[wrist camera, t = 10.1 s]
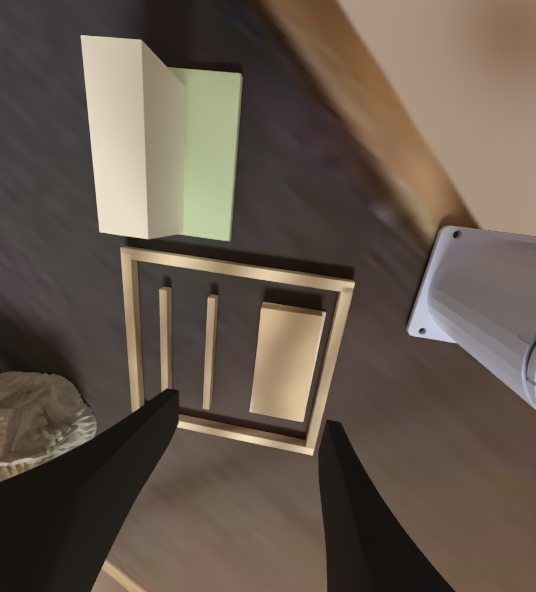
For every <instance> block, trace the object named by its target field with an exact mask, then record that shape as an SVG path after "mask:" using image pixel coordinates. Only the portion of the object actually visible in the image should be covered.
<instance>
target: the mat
mask: <svg viewBox="0 0 536 592" xmlns="http://www.w3.org/2000/svg"><path fill="white" fill-rule="evenodd" d="M167 68H168V69H169V70H170V71H171V72H172V73H173V74H174V75H175V76H176V77H177V78H178V79H179V80H180V82H181V83H182V84H183V85H184V86H185V111H184V205H183V233H181V235H188V236H195V237H202V238H209V239H216V240H223V241H231V234H232V220H233V206H234V192H235V179H236V165H237V151H238V137H239V123H240V110H241V96H242V82H243V77H242V75H241V73H229V72H218V71H206V70H194V69H182V68H171V67H167Z"/></svg>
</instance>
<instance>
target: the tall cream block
mask: <svg viewBox="0 0 536 592" xmlns="http://www.w3.org/2000/svg"><path fill="white" fill-rule="evenodd" d="M81 43H82V54H83V64H84V75H85V85H86V95H87V106H88V116H89V127H90V137H91V147H92V158H93V168H94V179H95V189H96V199H97V210H98V220H99V231H100V232H102V233H109V234H115V235H122V236H129V237H136V238H143V239H153V238H158V237H164V236H169V235H175V234H181V233H183V205H184V111H185V86H184V85H183V84H182V83H181V82H180V80H179V79H178V78H177V77H176V76H175V75H174V74H173V73H172V72H171V71H170V70H169V69H168V68H167V67H166V66H165V64H164V63H163V62H162V61H161V60H160V59H159V58H158V57H157V56H156V55H155V54H154V53H153V52H152V51H151V50H150V49H149V47H148V46H147V45H146V44H145V43H144V42H143V41H142V40H137V39H124V38H110V37H97V36H84V35H81Z"/></svg>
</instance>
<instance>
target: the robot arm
mask: <svg viewBox="0 0 536 592" xmlns="http://www.w3.org/2000/svg"><path fill="white" fill-rule="evenodd" d="M455 231H458V236H457V237H456V238H454V237H453V233H454V232H455ZM421 328H424V330H423V331H422V332H419V329H421ZM406 330H407V332H408V333H409V334H410V335H412V336H417V337H423V338H429V339H435V340H441V341H447V342H453V343H458V344H459V345H460V346H461V347H463V348H464V349H465V350H466V351H467V352H468V353H470V354H471V355H472V356H473V357H474V358H475V359H477V360H478V361H479V362H480V363H481V364H483V365H484V366H485V367H486V368H487V369H488V370H490V371H491V372H492V373H493V374H494V375H495V376H497V377H498V378H499V379H500V380H501V381H503V382H504V383H505V384H506V385H507V386H508V387H510V388H511V389H512V390H513V391H514V392H516V393H517V394H518V395H519V396H520V397H521V398H523V399H524V400H525V401H526V402H527V403H528V404H530V405H531V406H532V407H533V408H534V409H536V236H528V235H521V234H512V233H505V232H497V231H490V230H482V229H474V228H466V227H458V226H450V225H448V226H444V227H442V228H441V229H440V230H439V232H438V235H437V238H436V241H435V244H434V247H433V250H432V253H431V256H430V259H429V262H428V265H427V268H426V271H425V274H424V277H423V280H422V283H421V286H420V289H419V292H418V295H417V297H416V300H415V303H414V306H413V309H412V312H411V315H410V318H409V321H408V324H407V328H406ZM178 423H179V390H174V389H169V388H167V389H165V390H164V391H162V392H161V393H160V394H158V395H157V396H155V397H154V398H153V399H151V400H150V401H149V402H147V403H146V404H144V405H143V406H142V407H140V408H139V409H137V410H136V411H135V412H133V413H132V414H130V415H129V416H127V417H126V418H124V419H123V420H121V421H120V422H118V423H117V424H115V425H114V426H112V427H111V428H109V429H107V430H106V431H104V432H103V433H101V434H99V435H98V436H96V437H94V438H92V439H91V440H89V441H87V442H85V443H83V444H82V445H80V446H78V447H76V448H74V449H72V450H70V451H68V452H66V453H64V454H62V455H60V456H58V457H56V458H54V459H52V460H50V461H48V462H46V463H43V464H41V465H39V466H37V467H34V468H32V469H30V470H28V471H25V472H23V473H20V474H18V475H16V476H13V477H11V478H8V479H6V480H3V481H1V482H0V592H91V590H92V587H93V585H94V583H95V581H96V578H97V577H98V574H99V572H100V570H101V568H102V566H103V564H104V562H105V559H106V557H107V555H108V553H109V551H110V549H111V547H112V545H113V543H114V541H115V539H116V537H117V535H118V533H119V531H120V529H121V527H122V525H123V523H124V521H125V519H126V517H127V515H128V513H129V511H130V509H131V507H132V505H133V503H134V501H135V500H136V498H137V496H138V494H139V493H140V491H141V489H142V488H143V486H144V484H145V483H146V481H147V480H148V478H149V476H150V475H151V473H152V471H153V470H154V468H155V466H156V465H157V463H158V462H159V460H160V458H161V457H162V455H163V453H164V452H165V450H166V448H167V447H168V445H169V443H170V441H171V439H172V437H173V435H174V432H175V430H176V428H177V426H178ZM318 460H319V485H320V495H321V504H322V513H323V522H324V531H325V542H326V559H327V592H455V591H454V590H453V588H452V587H451V586H450V585H449V584H448V583H447V582H446V580H445V579H444V578H443V577H442V576H441V575H440V574H439V572H438V571H437V570H436V569H435V568H434V567H433V565H432V564H431V563H430V562H429V561H428V559H427V558H426V557H425V556H424V554H423V553H422V552H421V551H420V549H419V548H418V547H417V546H416V544H415V543H414V542H413V541H412V539H411V538H410V537H409V535H408V534H407V533H406V531H405V530H404V529H403V527H402V526H401V525H400V523H399V522H398V521H397V519H396V518H395V516H394V515H393V513H392V512H391V511H390V509H389V508H388V506H387V505H386V503H385V502H384V500H383V499H382V497H381V496H380V494H379V492H378V491H377V489H376V488H375V486H374V484H373V483H372V481H371V479H370V478H369V476H368V474H367V473H366V471H365V469H364V467H363V466H362V464H361V462H360V460H359V458H358V457H357V455H356V453H355V451H354V449H353V447H352V445H351V443H350V441H349V439H348V437H347V435H346V433H345V431H344V428H343V426H342V424H341V423H340V422H336V421H331V420H327V421H326V425H325V429H324V433H323V436H322V440H321V444H320V448H319V452H318Z"/></svg>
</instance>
